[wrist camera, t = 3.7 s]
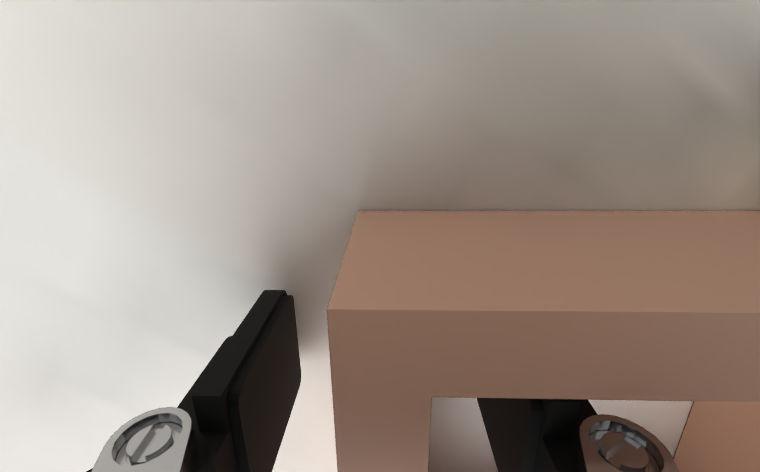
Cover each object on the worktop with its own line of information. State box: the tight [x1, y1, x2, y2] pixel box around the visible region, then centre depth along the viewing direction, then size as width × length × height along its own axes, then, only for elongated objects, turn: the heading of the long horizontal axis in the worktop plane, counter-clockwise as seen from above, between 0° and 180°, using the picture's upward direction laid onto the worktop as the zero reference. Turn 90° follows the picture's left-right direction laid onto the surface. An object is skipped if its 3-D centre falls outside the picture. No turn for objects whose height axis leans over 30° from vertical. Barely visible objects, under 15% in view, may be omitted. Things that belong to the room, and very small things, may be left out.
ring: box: [327, 211, 760, 472], centre depth 9 cm, size 12×12×5 cm
